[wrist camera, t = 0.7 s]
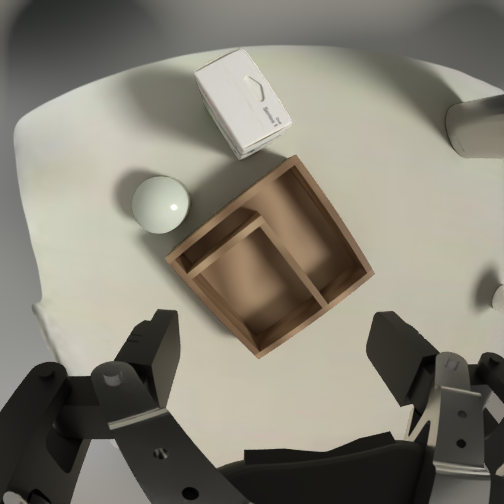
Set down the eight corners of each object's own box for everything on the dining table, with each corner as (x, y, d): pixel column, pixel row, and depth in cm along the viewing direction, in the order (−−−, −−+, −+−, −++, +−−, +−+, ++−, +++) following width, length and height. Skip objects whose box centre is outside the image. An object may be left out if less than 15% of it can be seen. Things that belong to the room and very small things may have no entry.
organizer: (288, 158, 32) (296, 154, 28) (360, 263, 36) (374, 273, 32) (173, 248, 34) (164, 258, 30) (256, 340, 38) (258, 359, 33)
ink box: (203, 105, 30) (187, 69, 18) (238, 86, 29) (240, 42, 18) (239, 162, 32) (241, 152, 20) (275, 142, 31) (296, 123, 20)
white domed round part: (169, 166, 31) (162, 164, 28) (201, 206, 33) (197, 208, 30) (132, 200, 32) (121, 202, 29) (163, 238, 34) (155, 245, 30)
